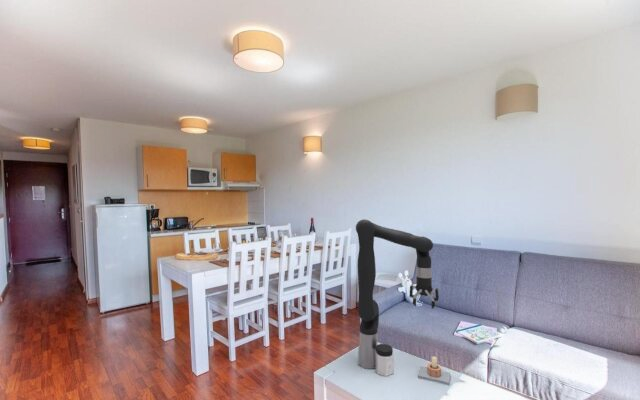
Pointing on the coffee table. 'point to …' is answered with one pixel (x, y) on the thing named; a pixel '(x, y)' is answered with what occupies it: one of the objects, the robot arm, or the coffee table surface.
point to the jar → (384, 359)
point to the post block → (443, 379)
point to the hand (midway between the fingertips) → (423, 306)
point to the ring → (434, 371)
